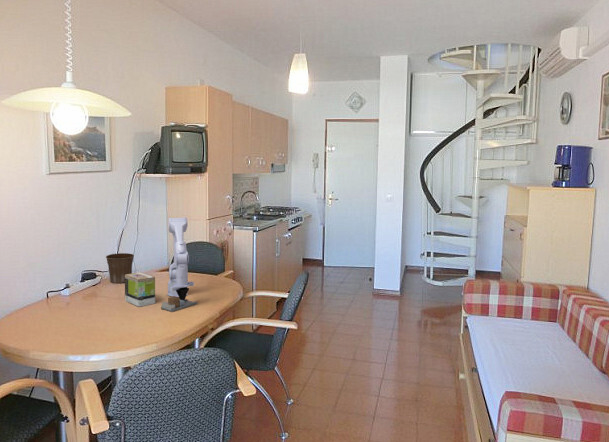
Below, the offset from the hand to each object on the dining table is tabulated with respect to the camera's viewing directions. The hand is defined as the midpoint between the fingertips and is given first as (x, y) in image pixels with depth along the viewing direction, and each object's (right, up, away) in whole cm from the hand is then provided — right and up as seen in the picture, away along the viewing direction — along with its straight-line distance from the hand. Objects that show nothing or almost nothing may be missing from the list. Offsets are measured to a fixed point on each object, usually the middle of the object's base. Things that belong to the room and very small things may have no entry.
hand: (182, 301), depth 248 cm
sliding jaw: (-1, -1, -2) cm, 3 cm away
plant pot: (-50, +5, +46) cm, 68 cm away
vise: (-1, -2, -1) cm, 3 cm away
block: (-3, -2, -5) cm, 6 cm away
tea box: (-24, -1, +5) cm, 24 cm away
